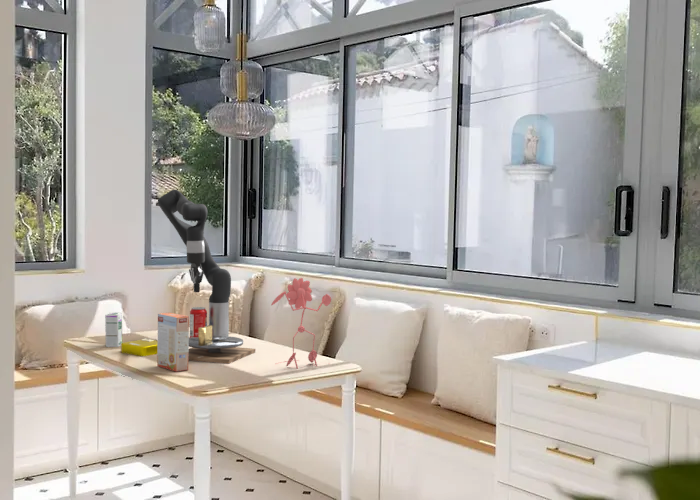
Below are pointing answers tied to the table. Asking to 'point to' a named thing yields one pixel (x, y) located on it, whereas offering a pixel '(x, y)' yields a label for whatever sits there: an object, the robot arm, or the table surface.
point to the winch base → (219, 354)
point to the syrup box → (113, 329)
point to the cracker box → (173, 341)
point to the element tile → (140, 347)
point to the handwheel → (213, 340)
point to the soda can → (197, 320)
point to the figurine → (299, 297)
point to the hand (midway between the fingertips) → (196, 292)
